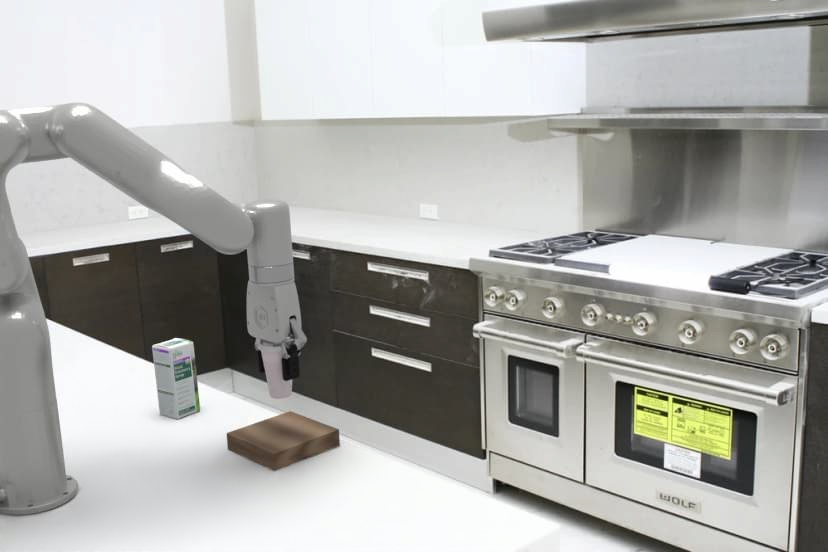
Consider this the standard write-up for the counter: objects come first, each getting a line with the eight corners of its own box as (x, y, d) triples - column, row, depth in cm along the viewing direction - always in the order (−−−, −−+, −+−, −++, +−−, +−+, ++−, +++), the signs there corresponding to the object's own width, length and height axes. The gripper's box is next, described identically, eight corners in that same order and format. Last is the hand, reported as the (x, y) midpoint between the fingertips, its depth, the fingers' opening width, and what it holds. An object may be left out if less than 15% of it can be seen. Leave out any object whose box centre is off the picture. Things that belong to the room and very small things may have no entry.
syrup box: (177, 420, 172) (170, 348, 169) (158, 414, 176) (151, 343, 173) (200, 411, 177) (194, 340, 174) (181, 405, 180) (175, 336, 177)
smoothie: (257, 392, 157) (251, 316, 154) (292, 386, 160) (287, 310, 156) (269, 404, 151) (263, 324, 148) (304, 396, 154) (299, 318, 151)
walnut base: (275, 470, 148) (274, 453, 147) (227, 449, 157) (226, 433, 157) (339, 445, 157) (338, 429, 157) (291, 426, 167) (290, 411, 166)
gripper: (224, 271, 154) (232, 370, 158) (284, 284, 142) (292, 391, 146) (259, 263, 159) (267, 360, 163) (321, 275, 147) (327, 379, 151)
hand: (279, 373), depth 154 cm, fingers closed on smoothie, 6 cm apart
